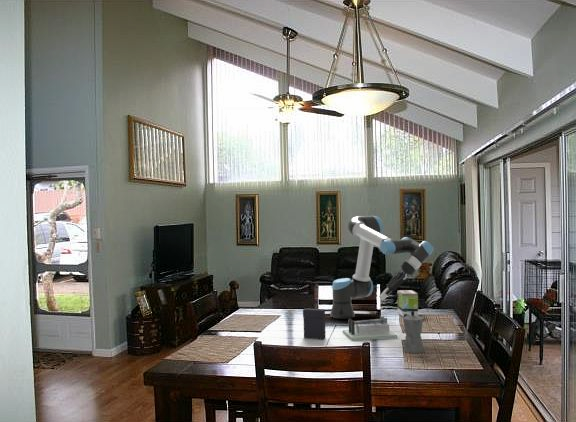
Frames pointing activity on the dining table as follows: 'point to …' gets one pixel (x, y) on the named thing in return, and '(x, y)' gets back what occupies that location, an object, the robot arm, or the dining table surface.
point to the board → (369, 336)
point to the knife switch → (369, 328)
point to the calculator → (314, 323)
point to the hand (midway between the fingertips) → (381, 298)
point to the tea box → (407, 302)
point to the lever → (368, 321)
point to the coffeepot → (413, 333)
